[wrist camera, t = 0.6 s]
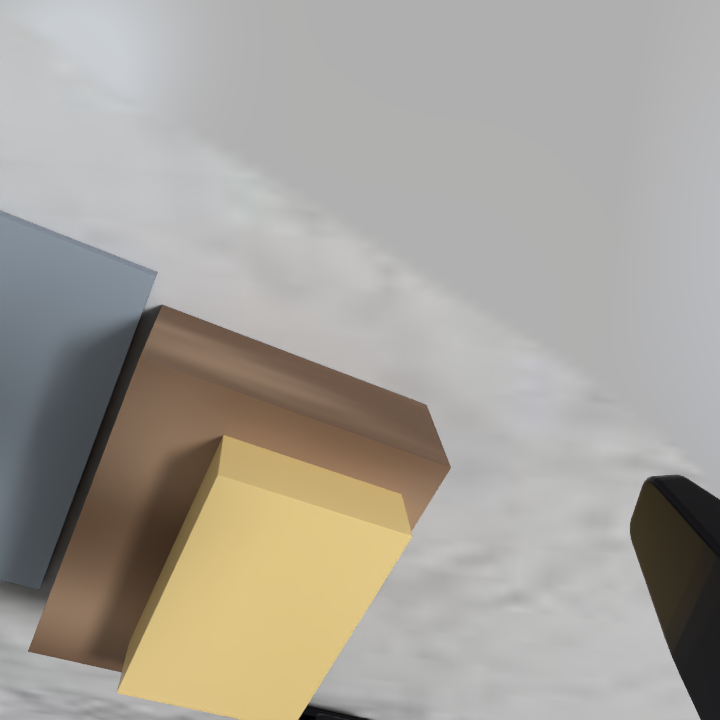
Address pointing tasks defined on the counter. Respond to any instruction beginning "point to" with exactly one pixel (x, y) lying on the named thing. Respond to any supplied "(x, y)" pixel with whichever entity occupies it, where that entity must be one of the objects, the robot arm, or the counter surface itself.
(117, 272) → the mat
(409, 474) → the brown box
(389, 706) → the counter surface
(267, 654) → the pale yellow rectangular block
